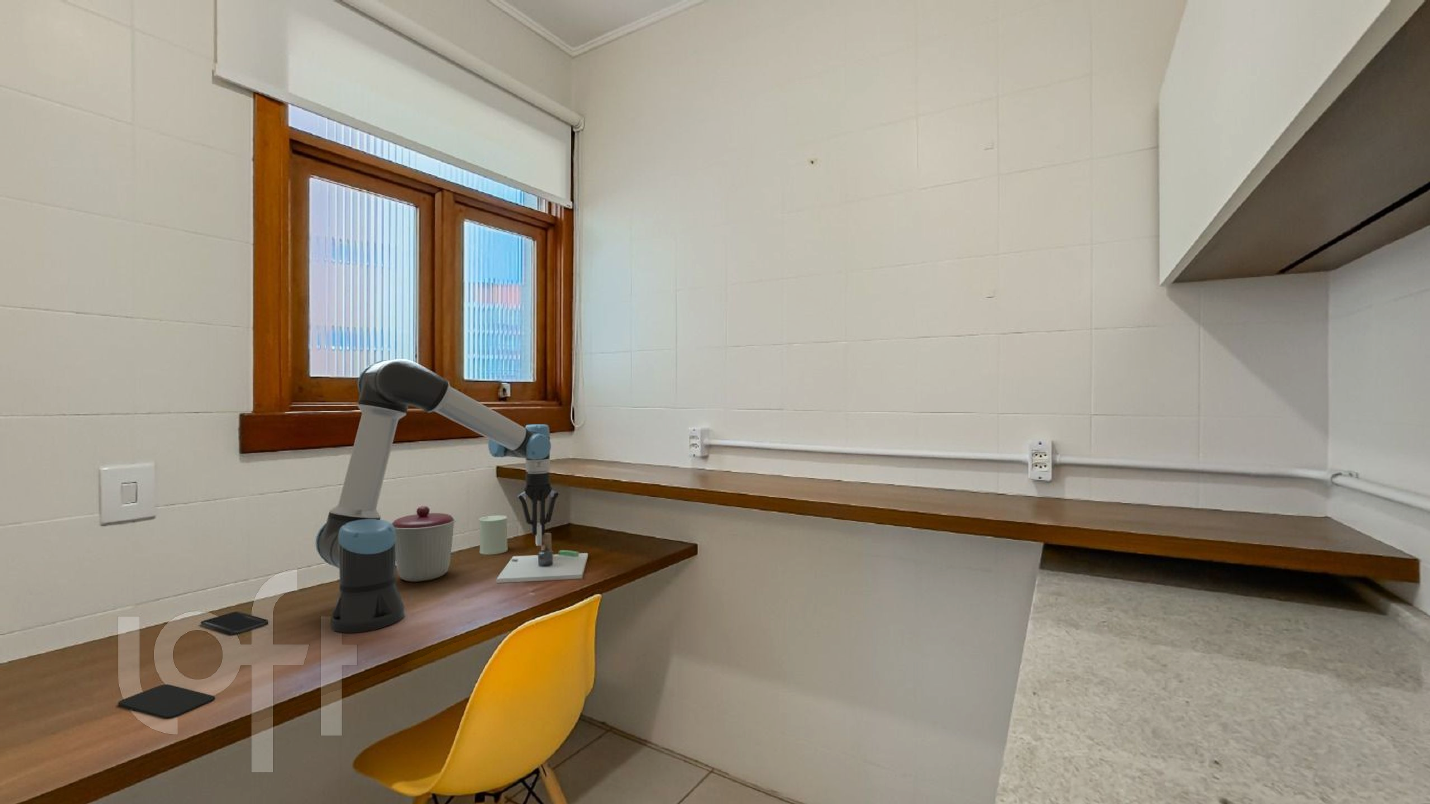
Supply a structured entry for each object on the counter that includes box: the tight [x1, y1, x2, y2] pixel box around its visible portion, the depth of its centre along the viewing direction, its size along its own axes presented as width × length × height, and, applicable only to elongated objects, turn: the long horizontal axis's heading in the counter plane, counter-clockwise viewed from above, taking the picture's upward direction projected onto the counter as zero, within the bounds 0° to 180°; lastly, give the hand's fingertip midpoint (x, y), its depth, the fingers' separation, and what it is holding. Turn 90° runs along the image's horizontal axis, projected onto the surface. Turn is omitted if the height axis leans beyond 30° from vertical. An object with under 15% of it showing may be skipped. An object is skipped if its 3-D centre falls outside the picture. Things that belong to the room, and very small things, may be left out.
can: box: [478, 515, 509, 556], centre depth 206 cm, size 9×9×12 cm
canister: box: [390, 505, 457, 582], centre depth 177 cm, size 18×18×21 cm
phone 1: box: [117, 683, 216, 720], centre depth 105 cm, size 7×1×15 cm
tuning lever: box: [537, 532, 554, 566], centre depth 189 cm, size 14×4×7 cm, turn 14°
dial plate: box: [496, 549, 589, 584], centre depth 184 cm, size 24×24×2 cm
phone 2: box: [200, 611, 269, 636], centre depth 141 cm, size 8×1×15 cm
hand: (538, 544), depth 192 cm, fingers closed
